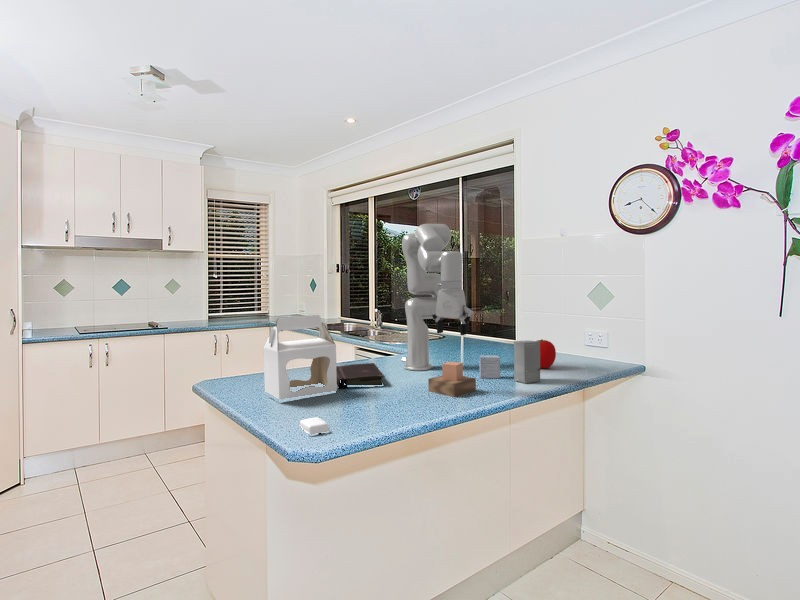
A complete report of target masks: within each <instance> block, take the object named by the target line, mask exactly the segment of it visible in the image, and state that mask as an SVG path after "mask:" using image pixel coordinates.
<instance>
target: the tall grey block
mask: <svg viewBox="0 0 800 600" xmlns="http://www.w3.org/2000/svg"><path fill="white" fill-rule="evenodd" d="M513 369H514V370H513V374H514V375H513V380H514V381H515V382H520V383H522V384H525V383H526V384H531V382H532V383H537V382H541V368H540V342H539V341H537V340H515V341H513Z"/></svg>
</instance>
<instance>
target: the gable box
mask: <svg viewBox="0 0 800 600" xmlns="http://www.w3.org/2000/svg"><path fill="white" fill-rule="evenodd" d="M275 324H276V326H273V327H270V328H269V336H268V337H267V339H266V341H265V344H264V346H263V370H264V371H263V372H264V373H263V374H264V376H263V378H264V379H263V380H264V393H265V392H267V393H269V394H271V395H273V396H274V397H276V398H278V399H285V398H292V397H298V396H305V395H312V394H317V393H323V392H331V391H337V392H338V386H337V372H336V366H337V345H336V343H335V341H334V339H333V338H332V335H331V334H330V332H329V330H328V323H327V322H322V319H321V316H320V315H319V314H315V315H312V314H311V315H299V316H289V317H288V316H286V317H285V316H284V317H278V318H277V319H276V320H275ZM307 329H309V330H310V329H318V330H319V331H318V334H319V335H318V337H317V338H309V339H308V338H307V339H299V340H298V339H295V340H287V341H279V333H280V332H284V331H295V330H307ZM297 359H300V360H301V359H303V360H312V361H311V365H310V369H309V370H310V378H309V379H307V380H302V379H292V380H290V376H289V373H288V371H287V365H288V363H289V362H290V361H293V360H297ZM318 383H321V384H323V385H325V386H323V387H315V386H309V387H305V388H302V389H300V390H298V391H296V392H292V391H290V387H297V386H304V385H311V384H318Z"/></svg>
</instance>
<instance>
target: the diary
mask: <svg viewBox="0 0 800 600" xmlns="http://www.w3.org/2000/svg"><path fill="white" fill-rule="evenodd" d="M336 372H337V388H338V387H339V386H341V385H342V387H343V386H344V383H345V384H346V386H347V385H382V383H383V378H384V377H385V375H384V374H383V373H382V371H381V370H380V369H379V368H378V366H377V364H375V363H374V362H370V363H369V362H368V363H352V364H345V365H336ZM340 380H341V383H342V384H341V385H340V384H339V383H340ZM344 387H345V386H344Z"/></svg>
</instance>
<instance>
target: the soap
mask: <svg viewBox="0 0 800 600" xmlns="http://www.w3.org/2000/svg"><path fill="white" fill-rule="evenodd" d="M299 426H301V428H302V430H303V429H304V431H305V432H306V433H308V434H315V433H321V432H327V431H330V432H331V429H330V426H329V424H328V423H327V422H326V421H324V420H323V419H322V418H320V417H316V416H315V417H310V418H305V419H304V418H303V419H301V420H300V421H299ZM321 434H322V433H321Z"/></svg>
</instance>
